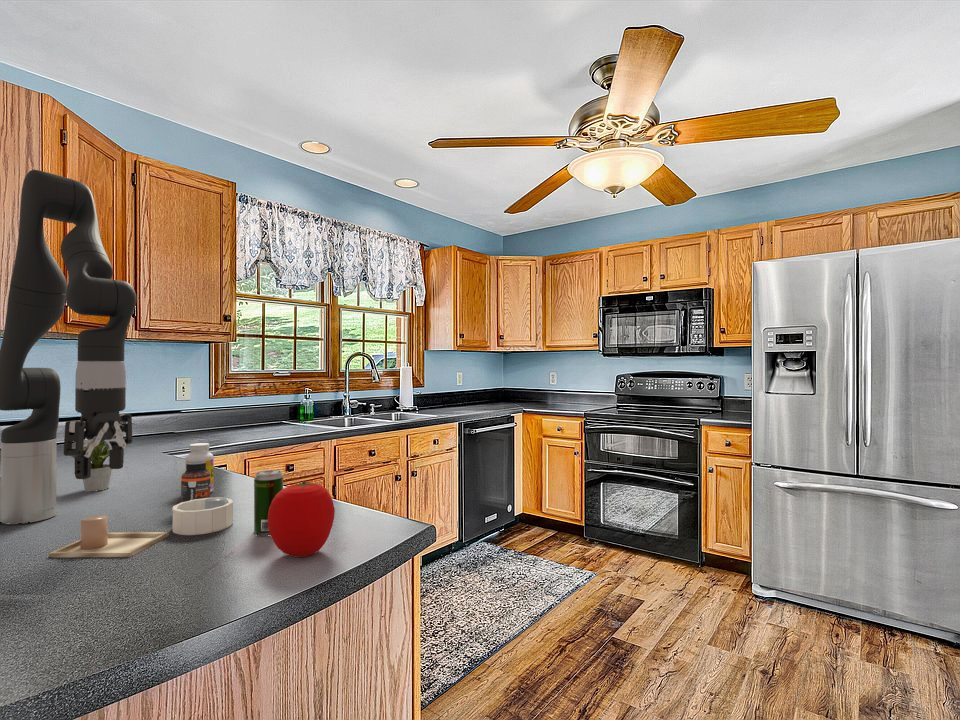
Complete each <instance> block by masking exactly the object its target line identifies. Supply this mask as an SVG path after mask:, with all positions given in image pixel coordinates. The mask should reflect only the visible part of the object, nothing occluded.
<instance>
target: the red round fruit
mask: <svg viewBox="0 0 960 720" xmlns="http://www.w3.org/2000/svg"><path fill="white" fill-rule="evenodd" d="M315 482H316V481H314V482H311V481H308V482H306V480H302V482H298V483H294V484H291V485H288V486H285V487H283V489H282V490H281V491H280V492H279V493H278V494H277V495H276V496H275V497H274V499H273V500H272V503H271V505H270V508H269V513H268V528H269V533H270V535H271V536H270V537H271V539H272V541H273V543H274V545H275V546H276V547H277V549H278V550H280V551H281V553H283V554H285V555H288V556H291V557H295V558H296V557H298V558H301V557H302V558H303V557H308V556H311V555H315V554H316V553H318V552H319V551H320V550H321V549H322V548H323V547H324V546H325V544H326V542H327V540H328V538H329V536H330V534H331V530H332V527H333V525H334V524H333V523H334V520H335V514H336V513H335V510H336V509H335V504H334V500H333V497H332V495H331V493H330V492H329V491H328V489H327V488H326V487H324V486H323V485H322V484H319V483H315Z"/></svg>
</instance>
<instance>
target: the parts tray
mask: <svg viewBox="0 0 960 720" xmlns="http://www.w3.org/2000/svg"><path fill="white" fill-rule="evenodd" d="M169 536H170V535H169V532H164V531H163V532H162V531H161V532H159V531H156V532H155V531H153V532H151V531H150V532H148V531H146V532H145V531H144V532H141V531H139V532H128V531H127V532H108V544H107V545H106V546H104V547H101V548H97V549H92V550H82V549H80V539H79V540H76V541H73V542H71V543H69V544H67V545H65V546H62V547H60V548H58V549H56V550H53V551H51V552H49V553H48V558H53V559H55V558H59V559H61V558H64V559H65V558H131V557H133V556H135V555H137V554H139V553H140V552H143V551H144V550H145V549H146V550H147V548H150V547H152V546H154V545H155V544H157V543H159V542H160V541H162V540H164V539H166V538H168V537H169Z"/></svg>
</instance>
